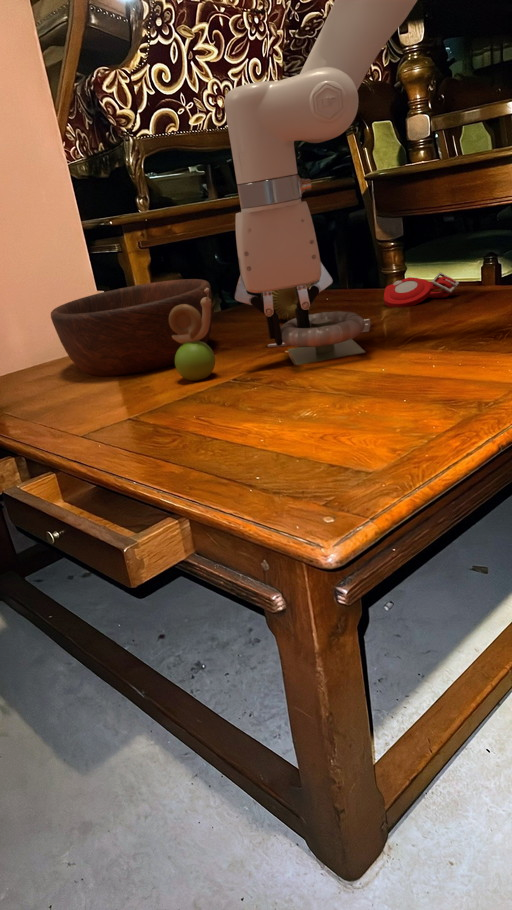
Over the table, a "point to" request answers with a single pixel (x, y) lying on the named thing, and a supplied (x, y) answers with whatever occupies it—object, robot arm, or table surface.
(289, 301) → the sculpture
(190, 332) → the snail figurine
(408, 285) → the tracker holder
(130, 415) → the table surface
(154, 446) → the table surface
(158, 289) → the wooden bowl
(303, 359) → the stand
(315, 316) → the bracelet
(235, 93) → the robot arm
